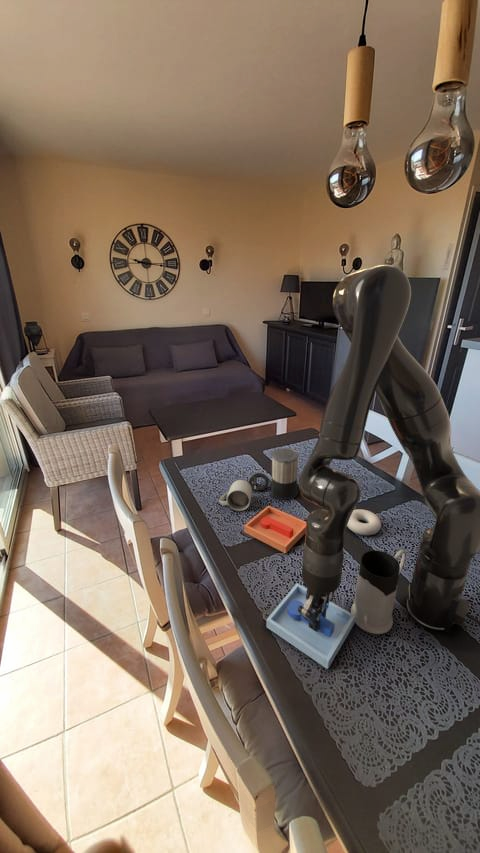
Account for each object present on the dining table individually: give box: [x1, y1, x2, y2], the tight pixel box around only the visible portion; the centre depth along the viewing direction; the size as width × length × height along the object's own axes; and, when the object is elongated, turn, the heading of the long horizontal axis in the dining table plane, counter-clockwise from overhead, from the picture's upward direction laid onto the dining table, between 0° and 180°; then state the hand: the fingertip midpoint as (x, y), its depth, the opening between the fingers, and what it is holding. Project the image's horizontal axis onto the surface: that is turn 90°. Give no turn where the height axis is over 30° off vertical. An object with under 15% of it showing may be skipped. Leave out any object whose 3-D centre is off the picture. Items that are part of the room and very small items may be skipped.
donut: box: [346, 508, 382, 536], centre depth 106 cm, size 10×4×10 cm
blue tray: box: [266, 582, 356, 670], centre depth 77 cm, size 14×12×2 cm
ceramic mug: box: [218, 479, 253, 512], centre depth 117 cm, size 11×8×8 cm
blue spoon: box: [288, 600, 335, 638], centre depth 77 cm, size 10×4×2 cm, turn 50°
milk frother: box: [247, 447, 300, 500], centre depth 123 cm, size 14×16×15 cm
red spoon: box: [261, 517, 294, 538], centre depth 105 cm, size 10×4×2 cm, turn 51°
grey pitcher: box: [350, 549, 407, 635], centre depth 78 cm, size 9×14×15 cm, turn 126°
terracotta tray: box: [243, 505, 307, 554], centre depth 105 cm, size 14×12×2 cm
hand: (317, 623), depth 76 cm, fingers closed on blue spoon, 2 cm apart
